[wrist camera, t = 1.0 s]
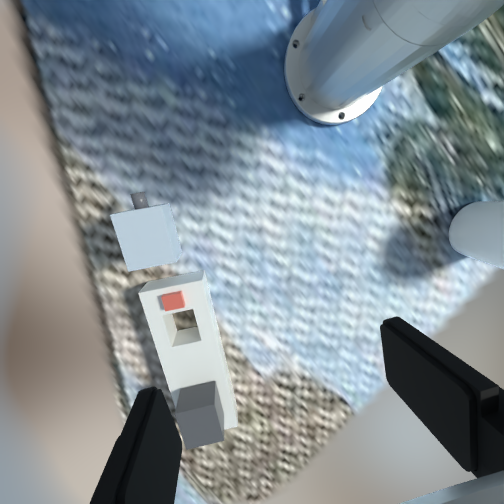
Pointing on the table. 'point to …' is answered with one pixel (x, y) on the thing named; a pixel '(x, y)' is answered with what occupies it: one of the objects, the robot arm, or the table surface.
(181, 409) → the dark grey block
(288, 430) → the table surface
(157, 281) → the power strip
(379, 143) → the table surface
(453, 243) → the candle holder
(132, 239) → the grey plug
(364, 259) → the table surface
